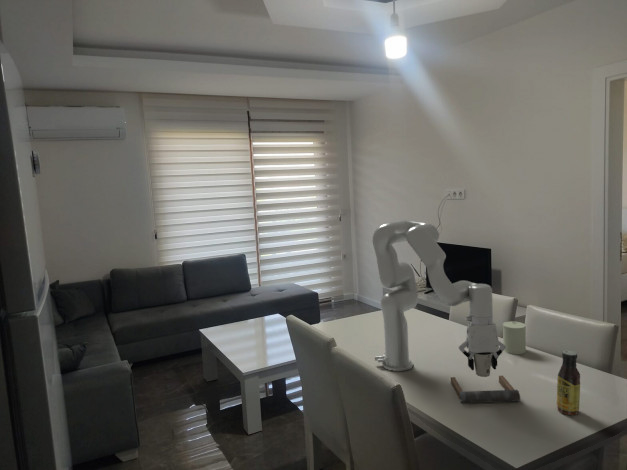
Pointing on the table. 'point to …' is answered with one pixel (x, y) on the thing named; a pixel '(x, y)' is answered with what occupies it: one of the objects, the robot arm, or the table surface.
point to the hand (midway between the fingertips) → (482, 368)
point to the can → (514, 337)
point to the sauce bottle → (568, 385)
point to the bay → (487, 393)
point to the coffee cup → (482, 363)
